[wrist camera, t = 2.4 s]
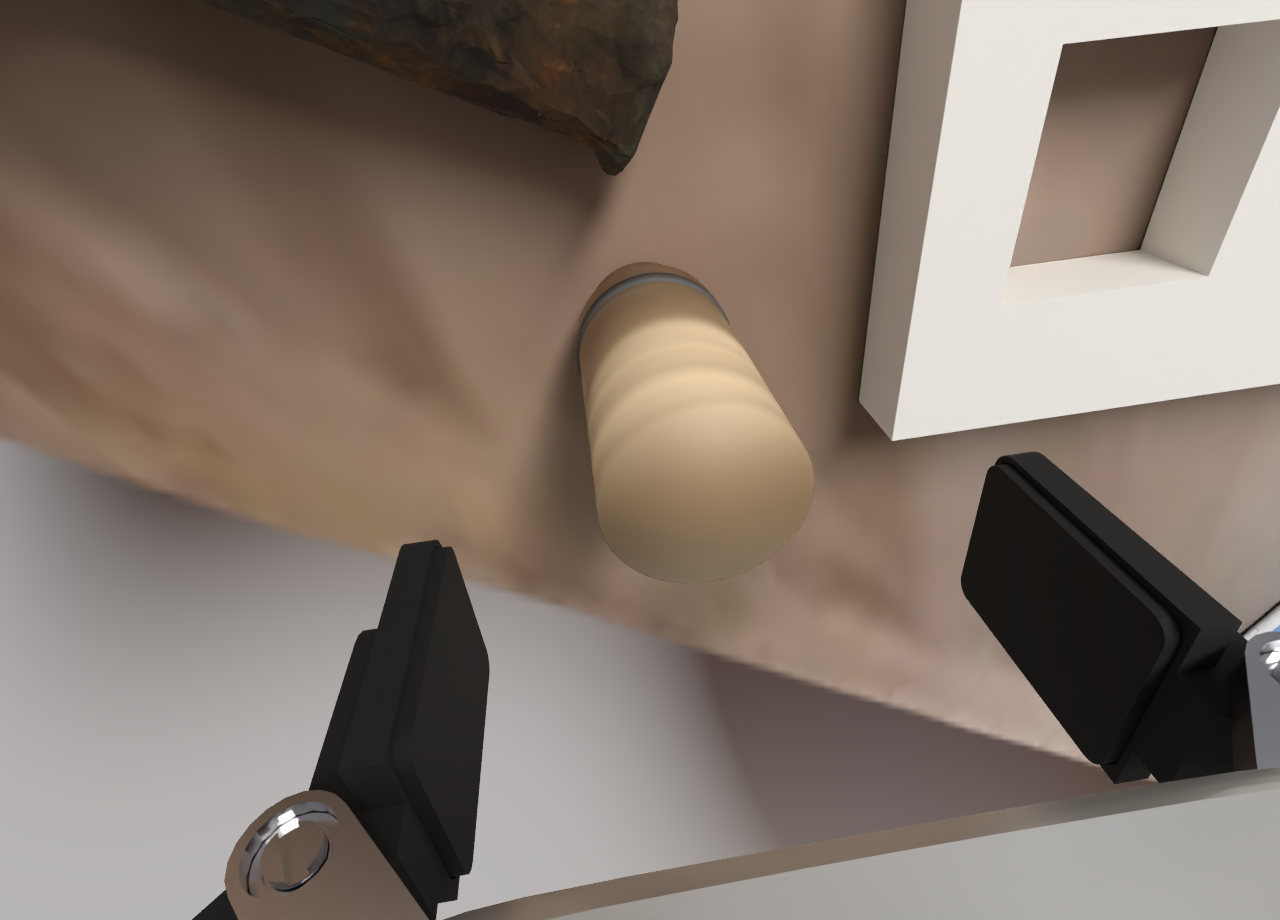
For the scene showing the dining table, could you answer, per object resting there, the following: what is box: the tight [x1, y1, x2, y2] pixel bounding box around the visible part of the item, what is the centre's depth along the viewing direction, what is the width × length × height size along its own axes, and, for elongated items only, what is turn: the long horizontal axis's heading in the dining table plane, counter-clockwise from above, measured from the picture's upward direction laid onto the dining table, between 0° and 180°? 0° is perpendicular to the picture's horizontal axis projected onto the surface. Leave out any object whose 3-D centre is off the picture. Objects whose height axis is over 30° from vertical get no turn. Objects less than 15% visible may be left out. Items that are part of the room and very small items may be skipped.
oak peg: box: [576, 262, 814, 583], centre depth 16 cm, size 4×4×9 cm
